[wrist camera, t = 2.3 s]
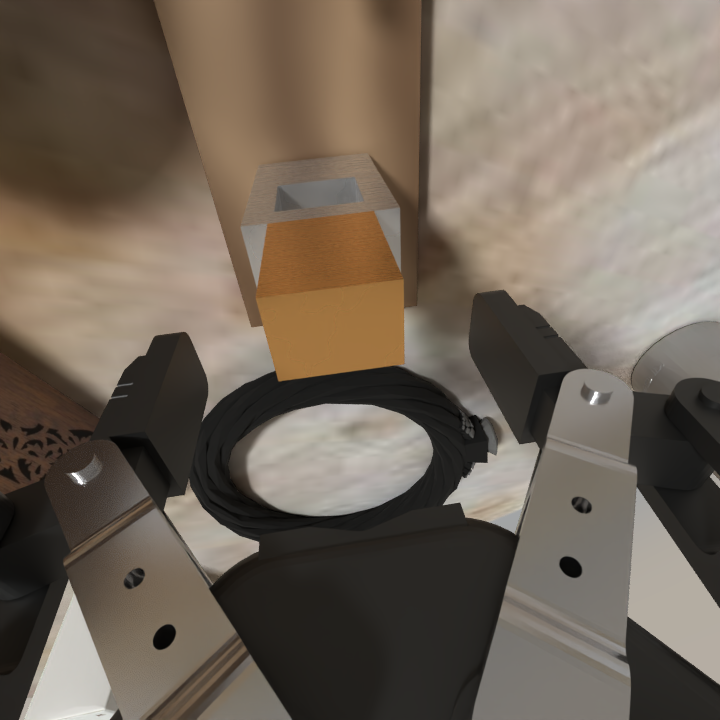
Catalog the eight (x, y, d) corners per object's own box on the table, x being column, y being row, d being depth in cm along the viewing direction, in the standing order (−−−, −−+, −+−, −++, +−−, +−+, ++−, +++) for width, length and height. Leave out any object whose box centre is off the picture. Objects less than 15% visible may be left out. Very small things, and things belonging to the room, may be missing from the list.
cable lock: (116, 426, 31) (504, 336, 30) (132, 392, 34) (486, 309, 33) (250, 575, 48) (498, 522, 47) (253, 544, 51) (486, 493, 50)
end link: (367, 152, 22) (439, 274, 11) (376, 298, 28) (429, 476, 17) (258, 165, 22) (217, 302, 11) (290, 309, 28) (285, 497, 17)
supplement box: (81, 564, 48) (14, 731, 37) (151, 547, 48) (104, 710, 36) (127, 593, 54) (80, 744, 43) (189, 578, 54) (160, 727, 42)
